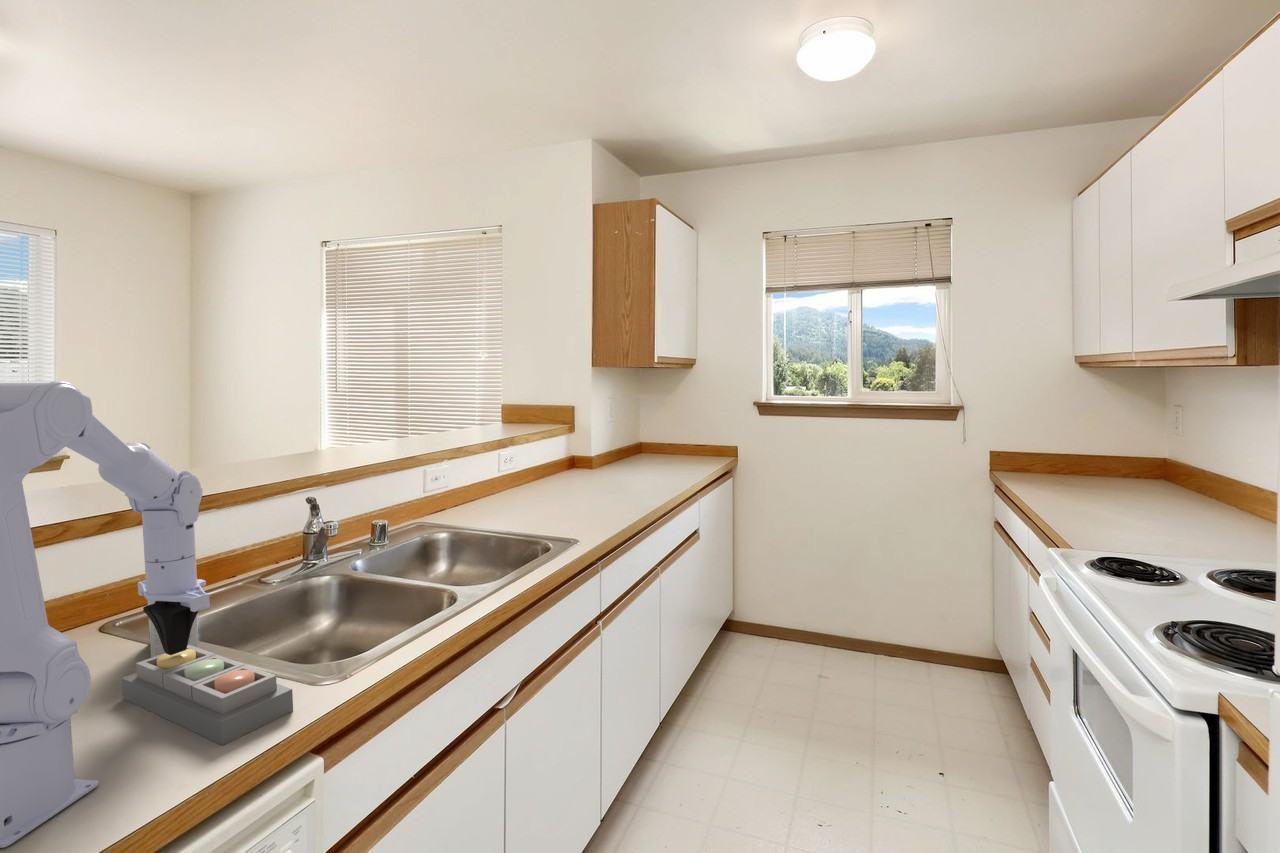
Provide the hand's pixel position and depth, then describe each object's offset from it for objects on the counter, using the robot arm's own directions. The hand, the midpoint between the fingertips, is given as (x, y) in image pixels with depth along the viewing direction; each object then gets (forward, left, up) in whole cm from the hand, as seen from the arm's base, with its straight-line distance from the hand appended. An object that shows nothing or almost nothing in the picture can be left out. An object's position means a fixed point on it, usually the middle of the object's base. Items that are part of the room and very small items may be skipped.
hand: (175, 651), depth 88 cm
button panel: (-3, -6, -6) cm, 9 cm away
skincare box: (+14, +14, -6) cm, 21 cm away
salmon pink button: (-5, -13, -3) cm, 14 cm away
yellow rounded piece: (0, 0, -3) cm, 3 cm away
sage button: (-3, -7, -3) cm, 7 cm away
